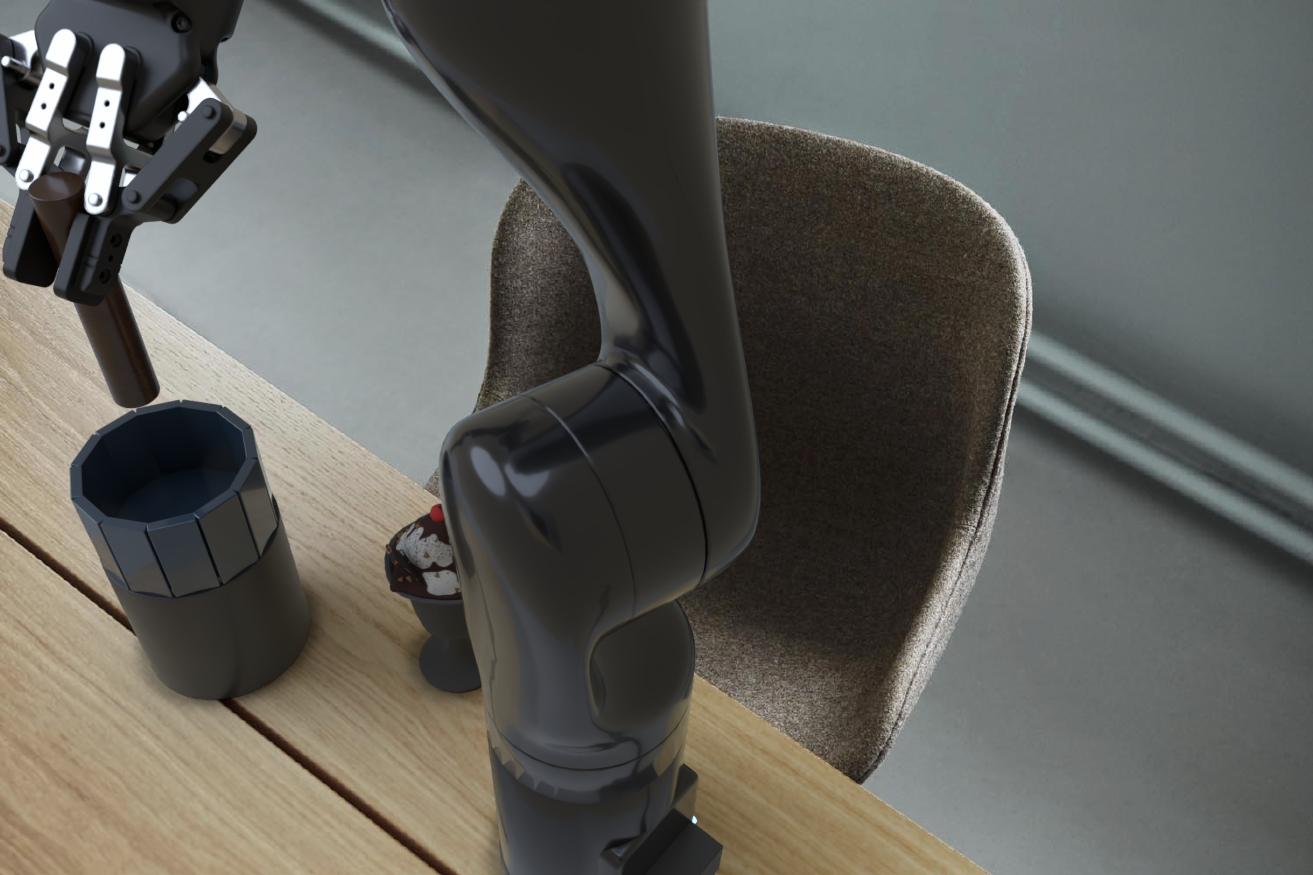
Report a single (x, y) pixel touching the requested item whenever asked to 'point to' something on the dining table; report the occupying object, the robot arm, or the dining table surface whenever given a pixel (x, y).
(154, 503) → the bowl
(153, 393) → the stick
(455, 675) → the sundae
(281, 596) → the stand
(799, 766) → the dining table surface
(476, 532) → the robot arm
